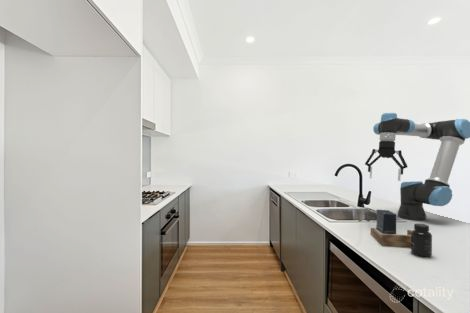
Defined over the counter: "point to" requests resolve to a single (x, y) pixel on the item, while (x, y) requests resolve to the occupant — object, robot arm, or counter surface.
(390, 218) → the small box
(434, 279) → the counter surface
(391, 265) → the counter surface
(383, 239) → the channel
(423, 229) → the supplement bottle
